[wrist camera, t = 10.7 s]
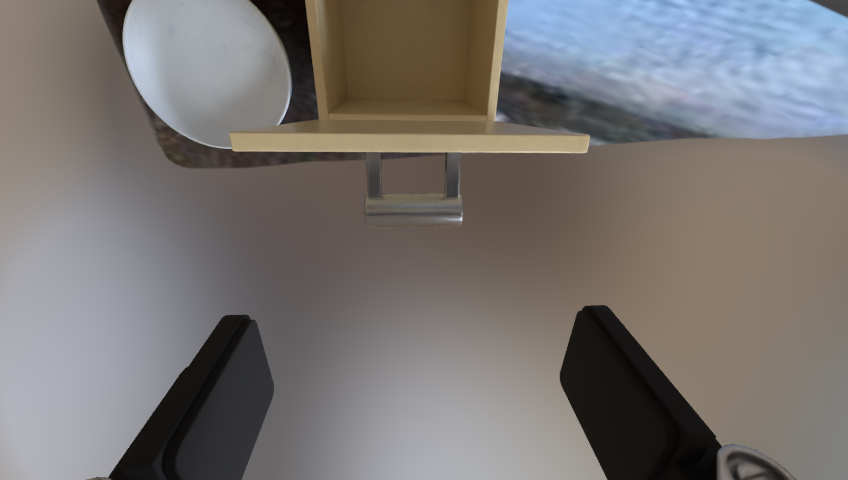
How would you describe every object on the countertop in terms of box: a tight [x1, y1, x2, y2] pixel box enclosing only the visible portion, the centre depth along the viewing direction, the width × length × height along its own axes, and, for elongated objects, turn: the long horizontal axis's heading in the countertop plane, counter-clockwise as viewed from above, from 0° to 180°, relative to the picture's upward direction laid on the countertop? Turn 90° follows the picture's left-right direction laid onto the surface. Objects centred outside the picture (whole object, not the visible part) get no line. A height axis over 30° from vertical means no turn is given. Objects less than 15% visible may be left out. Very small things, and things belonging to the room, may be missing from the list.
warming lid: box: [229, 119, 590, 228], centre depth 23 cm, size 16×16×5 cm
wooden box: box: [305, 0, 508, 121], centre depth 33 cm, size 16×16×14 cm
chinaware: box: [123, 0, 292, 149], centre depth 36 cm, size 15×15×8 cm
